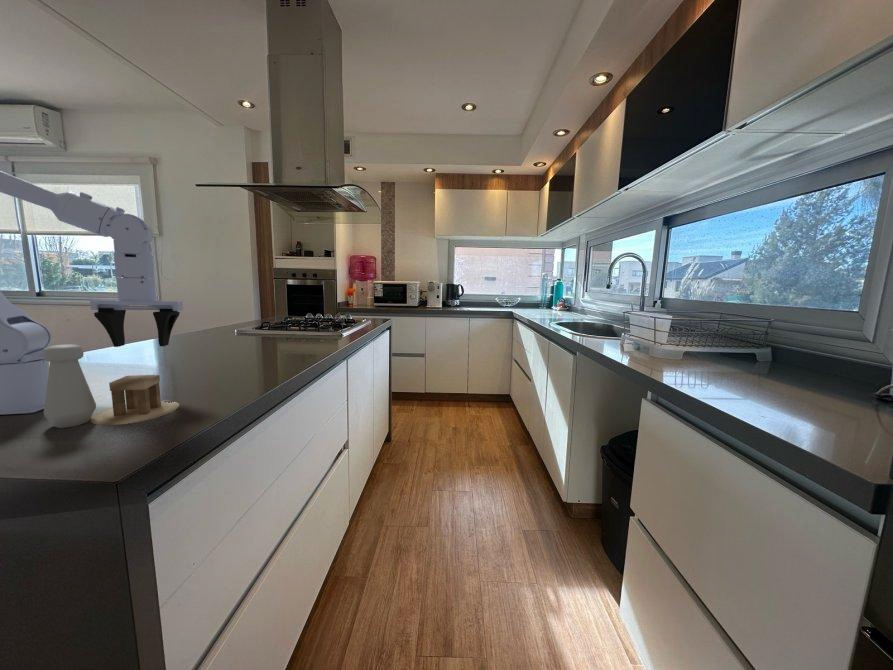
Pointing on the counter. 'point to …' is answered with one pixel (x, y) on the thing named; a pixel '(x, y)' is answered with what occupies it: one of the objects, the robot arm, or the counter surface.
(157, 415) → the trivet
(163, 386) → the counter surface
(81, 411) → the salt shaker
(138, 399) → the stool
